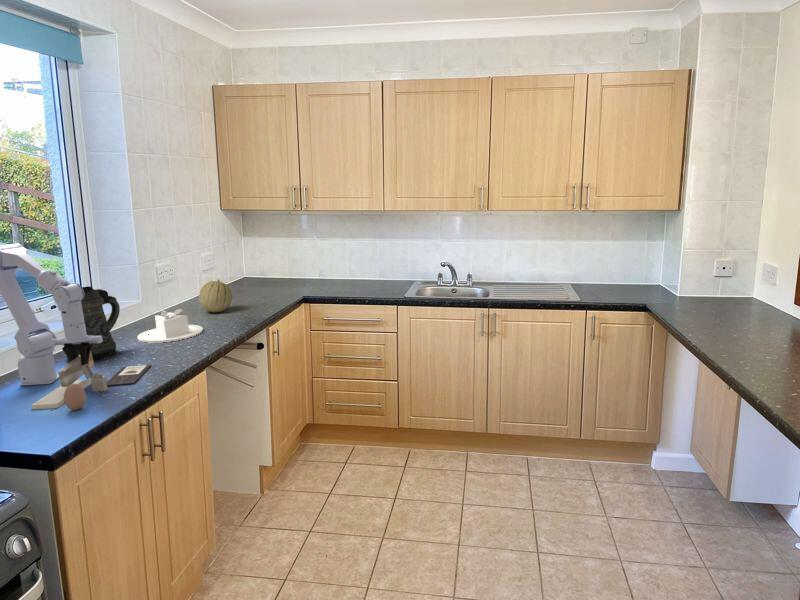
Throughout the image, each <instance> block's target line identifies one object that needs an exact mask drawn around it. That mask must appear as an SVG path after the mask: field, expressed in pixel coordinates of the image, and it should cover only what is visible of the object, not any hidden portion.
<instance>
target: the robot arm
mask: <svg viewBox="0 0 800 600" xmlns="http://www.w3.org/2000/svg"><path fill="white" fill-rule="evenodd" d="M20 269H21V270H22V271H24V272H26V273H27V274H29V275H31V276H32V277H34V278H35V279H36V283H37V285H38V286H40V287H41V288H42V289H43V290H45V291H46V292H48V293H49V294H50V295H51V296H52V298H53V300H54V302H55V304H56V305H57V309H58V310H59V312H60V315H61V320H62V325H63V326H62V327H63V331H64V337H57V336H56V334H55V333H54V332H53V331H52V330H51V329H50V327H49V325H48V324H46V323H44V322H41V321H38V319H37V317H36V315H35V313H34V311H33V310H32V307H31V305H30V304H29V301H28V299H27V298H26V296H25V294H24V292H23V291H22V288H21V287H20V284H19V282H18V280H17V279H16V273H17V272H19V271H20ZM82 287H83V286H81V285H80V283H78V282H72V281H68V280H67V279H65V278H64V277H63V276H61V275H60V274H58V272H57V270H54V269H45V267H43V266H42V265H41V264H39V262H37V261H36V260H35V259H33V258H32V256H30V255H29V253H28V249H27V248H25V247H24V246H23V245H22V244H20V243H18V242H17V243H16V242H13V243H11V244H10V243H9V244H2V245H0V294H1V297H2V299H3V301H4V303H5V304H6V306H7V308H8V310H9V311H10V315H12V318H13V319H14V321H15V323H16V325H17V327H18V330H17V332H16V333H15V335H14V337H13V338H14V340H15V343H16V347H17V350H18V352H19V353H20V354H21V355H20V357H19V358H18V360H17V368H18V375H19V379H20V383H19V385H20V386H33V385H34V386H36V385H50V384H52V383H54V382H55V381H57V380H58V379H59V375H58V372H57V369H56V362H55V359H54V358H55V357H54V353H53V352H54V351H55V348H56V347H57V346H63V347H62V351H63V352H64V354H65V353H66V354H67V355H68V357H69V358H70V360H71V361H72V360H74V359H75V358H76V357H77V356H79V355H78V351H79V353H80V356H81V361H82V366H83V365H85V364H88V363H89V355H90V351H91V348H92V346H93V343H101V342H103V340H102V336H90V335H87V334H86V328H85V322H84V316H83V310H82V305H81V300H83V298H84V290H83V288H82ZM78 344H81V345H79V346H78ZM66 354H65V355H66Z"/></svg>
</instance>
